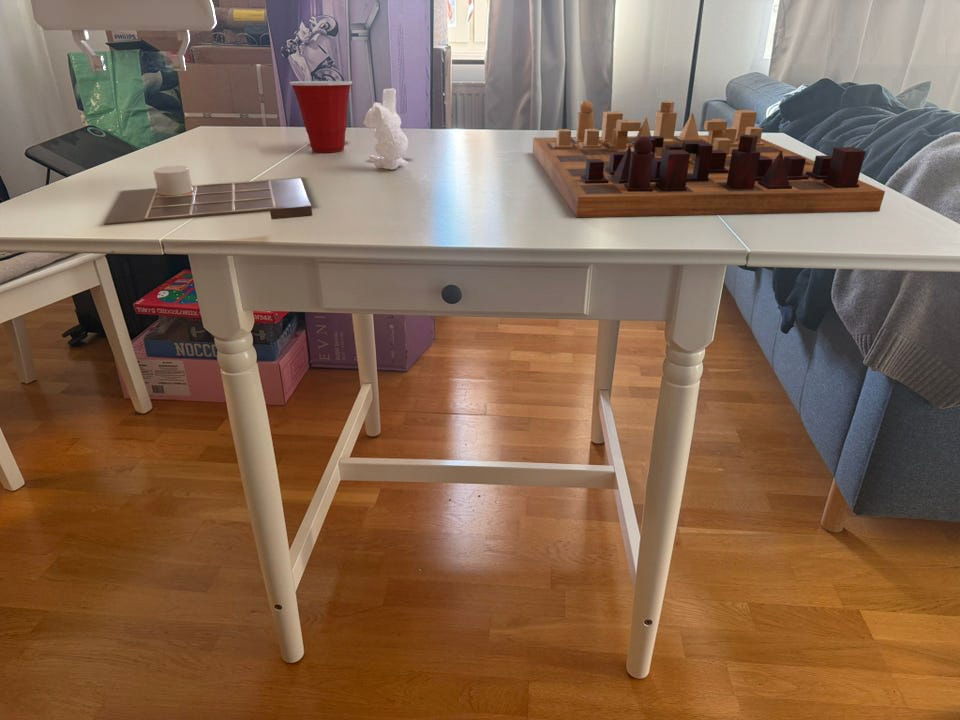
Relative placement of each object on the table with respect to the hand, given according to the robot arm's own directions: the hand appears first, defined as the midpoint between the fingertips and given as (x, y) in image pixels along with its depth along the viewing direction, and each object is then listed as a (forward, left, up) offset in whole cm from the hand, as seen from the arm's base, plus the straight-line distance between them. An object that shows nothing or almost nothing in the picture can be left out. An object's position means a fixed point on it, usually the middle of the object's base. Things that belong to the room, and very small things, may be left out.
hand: (140, 70), depth 86 cm
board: (+6, -7, -16) cm, 19 cm away
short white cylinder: (+1, -2, -15) cm, 15 cm away
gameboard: (+74, -12, -17) cm, 77 cm away
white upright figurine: (+33, +9, -17) cm, 38 cm away
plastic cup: (+25, +27, -17) cm, 41 cm away
